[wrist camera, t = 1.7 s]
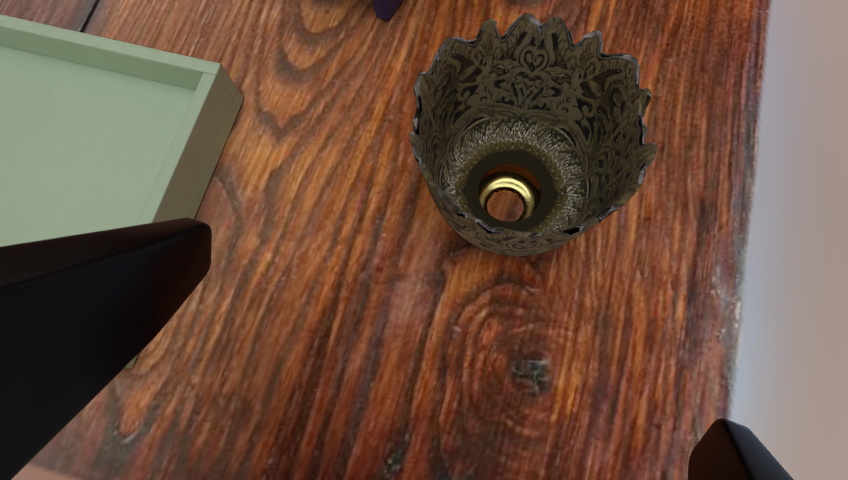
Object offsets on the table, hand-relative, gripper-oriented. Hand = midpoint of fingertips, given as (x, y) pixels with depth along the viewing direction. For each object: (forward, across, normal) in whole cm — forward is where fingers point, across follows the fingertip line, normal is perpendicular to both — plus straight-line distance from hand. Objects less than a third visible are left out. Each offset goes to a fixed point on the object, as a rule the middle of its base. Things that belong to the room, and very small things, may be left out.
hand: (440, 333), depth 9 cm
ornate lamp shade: (+15, 0, +4) cm, 15 cm away
